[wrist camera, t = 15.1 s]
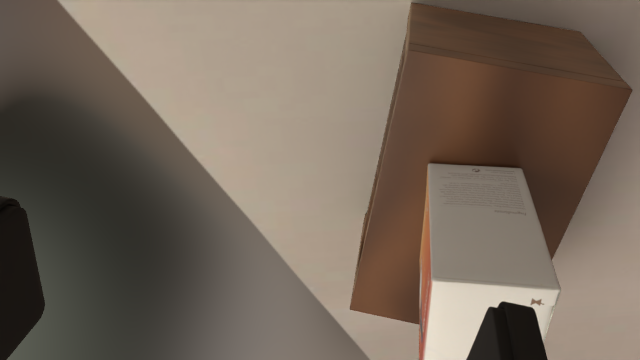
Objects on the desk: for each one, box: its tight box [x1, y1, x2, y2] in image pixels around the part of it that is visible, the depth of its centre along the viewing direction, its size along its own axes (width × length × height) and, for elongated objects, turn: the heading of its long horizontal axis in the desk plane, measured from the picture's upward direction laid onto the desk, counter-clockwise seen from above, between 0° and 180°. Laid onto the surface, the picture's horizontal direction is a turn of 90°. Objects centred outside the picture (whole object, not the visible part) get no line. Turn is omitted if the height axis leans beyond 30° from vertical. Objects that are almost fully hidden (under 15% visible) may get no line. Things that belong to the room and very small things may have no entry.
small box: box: [419, 163, 561, 360], centre depth 29 cm, size 8×6×10 cm
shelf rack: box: [350, 3, 632, 324], centre depth 39 cm, size 12×20×11 cm, turn 172°
